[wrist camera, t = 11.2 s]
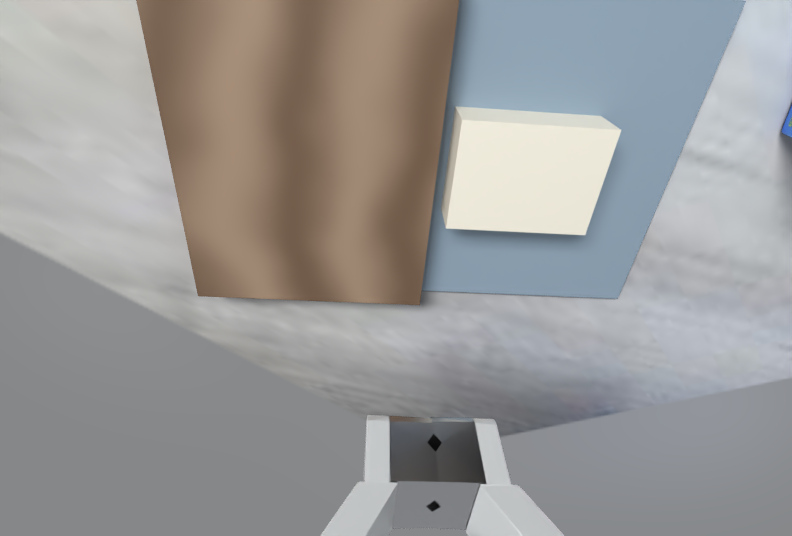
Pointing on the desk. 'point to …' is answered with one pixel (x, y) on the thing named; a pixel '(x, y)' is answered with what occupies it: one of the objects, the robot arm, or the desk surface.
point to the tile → (525, 170)
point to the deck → (303, 140)
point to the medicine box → (788, 124)
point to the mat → (584, 95)
